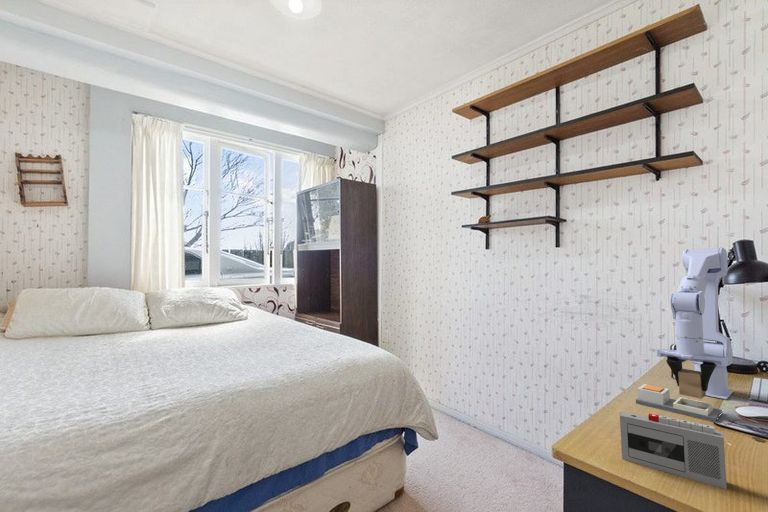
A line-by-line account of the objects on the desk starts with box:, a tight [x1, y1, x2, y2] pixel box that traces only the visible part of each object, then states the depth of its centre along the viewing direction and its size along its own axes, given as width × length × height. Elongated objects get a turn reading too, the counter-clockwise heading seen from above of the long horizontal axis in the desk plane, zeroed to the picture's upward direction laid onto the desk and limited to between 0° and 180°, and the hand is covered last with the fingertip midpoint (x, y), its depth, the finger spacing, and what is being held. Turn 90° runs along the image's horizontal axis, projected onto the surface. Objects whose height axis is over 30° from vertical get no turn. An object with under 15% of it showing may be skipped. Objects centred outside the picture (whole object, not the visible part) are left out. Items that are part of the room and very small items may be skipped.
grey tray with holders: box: [635, 383, 723, 423], centre depth 98 cm, size 8×17×4 cm, turn 38°
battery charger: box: [669, 343, 687, 380], centre depth 124 cm, size 7×4×11 cm, turn 128°
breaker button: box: [643, 384, 665, 393], centre depth 103 cm, size 4×4×3 cm
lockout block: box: [678, 368, 706, 400], centre depth 96 cm, size 4×4×6 cm
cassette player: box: [619, 410, 728, 490], centre depth 70 cm, size 16×3×10 cm, turn 47°
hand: (692, 387), depth 96 cm, fingers closed on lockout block, 4 cm apart
